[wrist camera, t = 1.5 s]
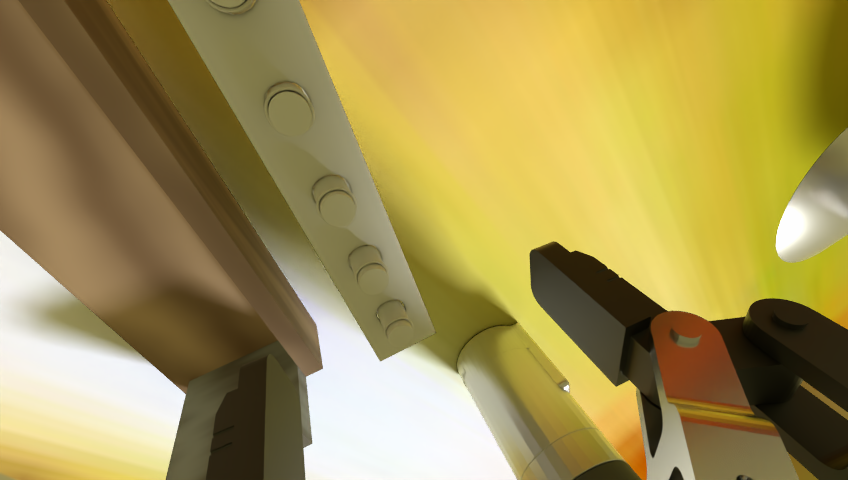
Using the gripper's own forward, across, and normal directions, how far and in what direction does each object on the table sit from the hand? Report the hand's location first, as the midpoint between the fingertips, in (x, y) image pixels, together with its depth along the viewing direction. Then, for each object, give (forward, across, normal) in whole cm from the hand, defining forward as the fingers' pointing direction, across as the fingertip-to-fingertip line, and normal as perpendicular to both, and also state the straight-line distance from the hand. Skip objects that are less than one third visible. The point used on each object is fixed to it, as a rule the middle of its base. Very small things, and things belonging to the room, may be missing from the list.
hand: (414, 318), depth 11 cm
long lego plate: (+21, +1, 0) cm, 21 cm away
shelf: (+20, +14, +1) cm, 25 cm away
